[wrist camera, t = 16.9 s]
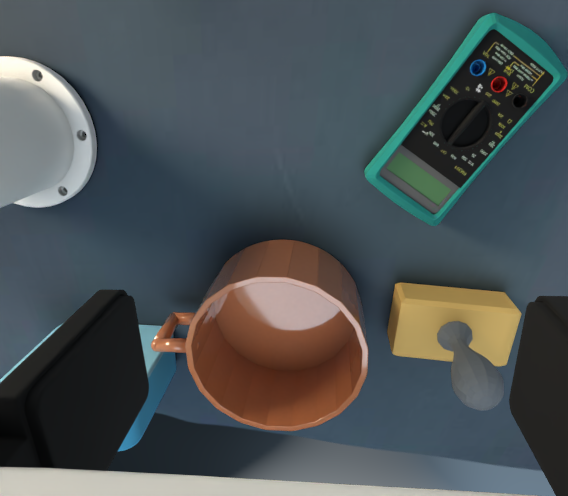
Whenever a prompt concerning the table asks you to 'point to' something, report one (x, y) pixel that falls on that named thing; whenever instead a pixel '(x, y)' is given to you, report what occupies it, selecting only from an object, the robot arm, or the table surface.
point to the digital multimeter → (466, 117)
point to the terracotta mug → (276, 337)
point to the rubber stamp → (457, 335)
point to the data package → (159, 377)
